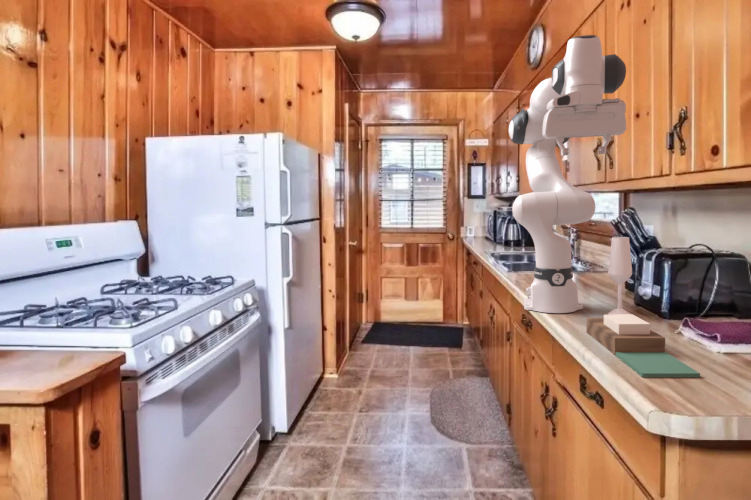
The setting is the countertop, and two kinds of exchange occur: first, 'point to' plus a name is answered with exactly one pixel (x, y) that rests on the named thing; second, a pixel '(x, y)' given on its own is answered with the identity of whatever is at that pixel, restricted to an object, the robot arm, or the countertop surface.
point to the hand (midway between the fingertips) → (583, 154)
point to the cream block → (626, 324)
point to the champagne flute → (620, 267)
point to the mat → (656, 364)
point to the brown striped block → (624, 339)
